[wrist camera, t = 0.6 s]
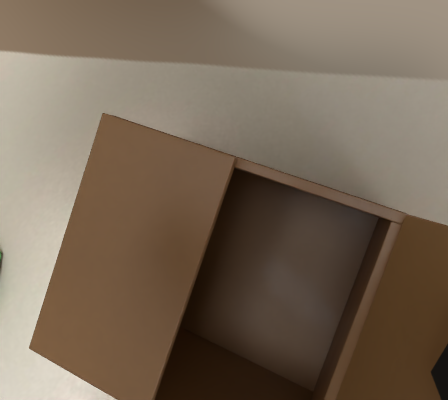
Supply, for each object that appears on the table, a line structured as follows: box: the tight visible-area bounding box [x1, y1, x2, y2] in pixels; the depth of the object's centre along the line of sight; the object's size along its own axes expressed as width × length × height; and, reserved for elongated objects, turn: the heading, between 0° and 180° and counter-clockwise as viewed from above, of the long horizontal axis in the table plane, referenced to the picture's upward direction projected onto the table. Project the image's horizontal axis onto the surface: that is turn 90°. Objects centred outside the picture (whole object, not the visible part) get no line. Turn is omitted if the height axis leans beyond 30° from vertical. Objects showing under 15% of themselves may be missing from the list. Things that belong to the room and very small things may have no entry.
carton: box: [29, 113, 407, 400], centre depth 24 cm, size 15×13×10 cm
